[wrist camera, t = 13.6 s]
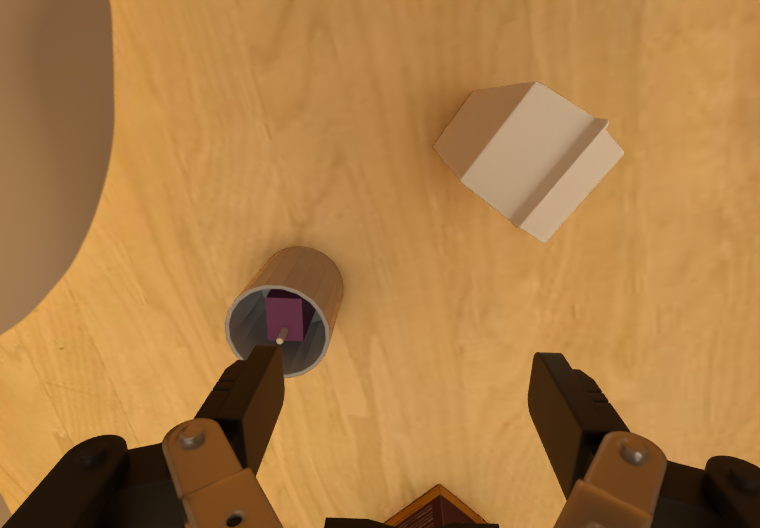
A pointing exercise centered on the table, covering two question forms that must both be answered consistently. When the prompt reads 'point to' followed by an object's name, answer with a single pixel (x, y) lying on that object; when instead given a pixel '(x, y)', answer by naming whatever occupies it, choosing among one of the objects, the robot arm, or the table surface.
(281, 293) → the juice box
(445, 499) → the supplement box
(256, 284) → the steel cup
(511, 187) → the milk
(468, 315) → the table surface
